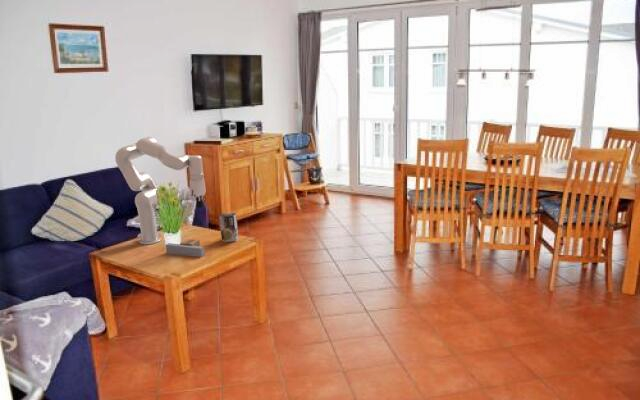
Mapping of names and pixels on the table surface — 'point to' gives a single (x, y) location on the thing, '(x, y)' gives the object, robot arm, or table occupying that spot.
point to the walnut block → (190, 242)
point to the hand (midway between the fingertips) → (199, 207)
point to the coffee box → (228, 227)
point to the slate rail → (185, 250)
